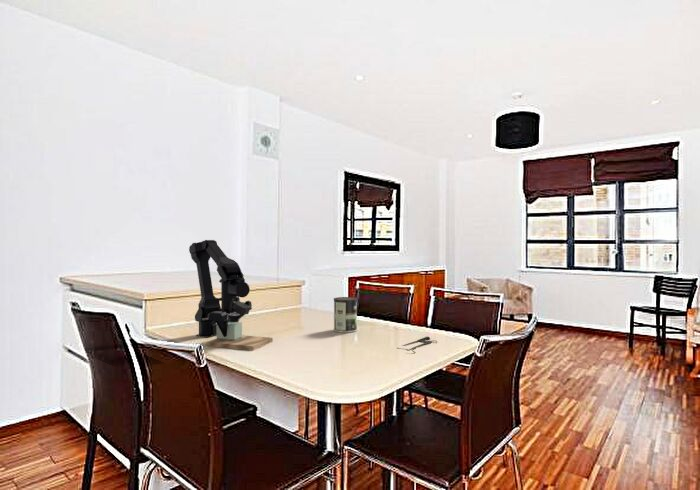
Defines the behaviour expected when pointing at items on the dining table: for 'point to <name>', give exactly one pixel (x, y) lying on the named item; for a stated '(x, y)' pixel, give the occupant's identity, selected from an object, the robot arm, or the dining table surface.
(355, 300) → the coffee can
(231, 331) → the block
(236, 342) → the oak board
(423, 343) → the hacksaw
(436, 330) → the dining table surface
